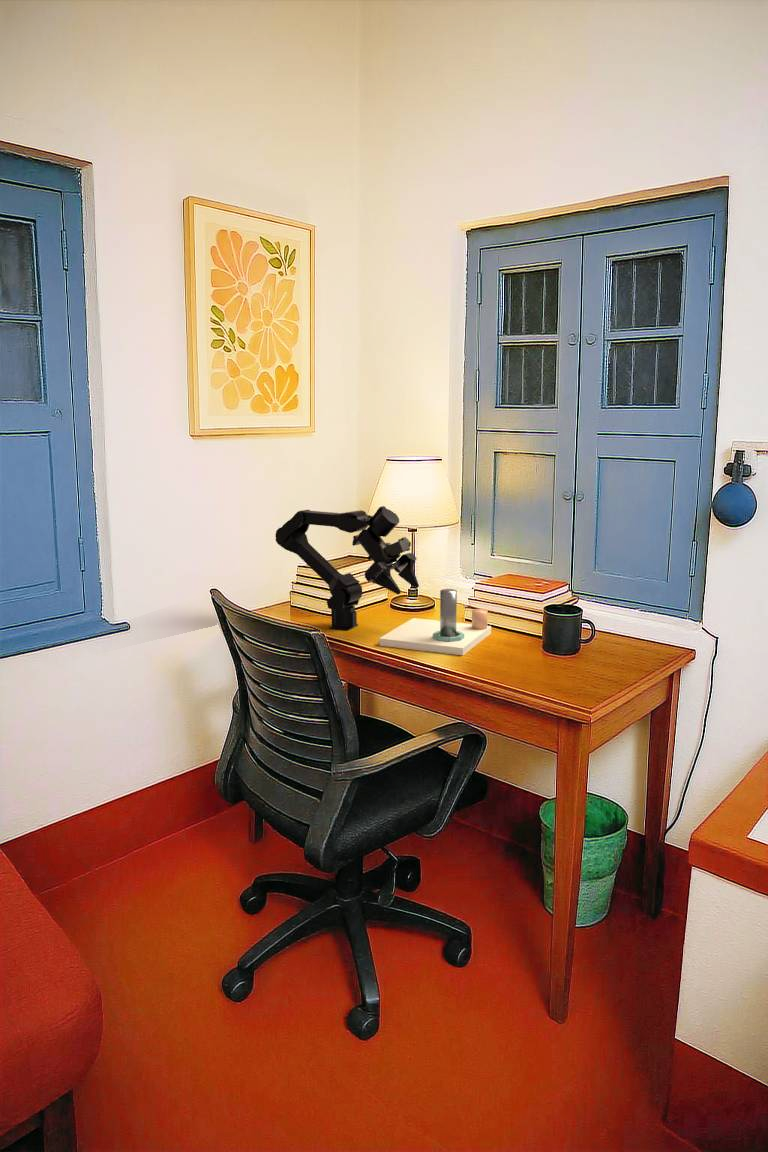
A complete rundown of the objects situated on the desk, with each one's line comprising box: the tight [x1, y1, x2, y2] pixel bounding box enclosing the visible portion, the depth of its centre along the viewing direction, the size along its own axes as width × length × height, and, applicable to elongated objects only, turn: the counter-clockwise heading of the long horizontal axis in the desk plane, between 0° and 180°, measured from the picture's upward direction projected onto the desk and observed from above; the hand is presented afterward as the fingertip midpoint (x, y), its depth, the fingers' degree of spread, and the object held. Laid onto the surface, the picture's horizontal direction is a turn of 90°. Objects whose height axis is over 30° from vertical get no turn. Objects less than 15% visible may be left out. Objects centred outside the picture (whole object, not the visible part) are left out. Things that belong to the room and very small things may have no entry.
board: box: [378, 617, 492, 656], centre depth 244 cm, size 24×24×3 cm
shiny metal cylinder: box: [439, 588, 458, 637], centre depth 237 cm, size 4×4×13 cm
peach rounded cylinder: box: [471, 608, 489, 630], centre depth 247 cm, size 4×4×5 cm
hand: (408, 590), depth 243 cm, fingers open, 9 cm apart
